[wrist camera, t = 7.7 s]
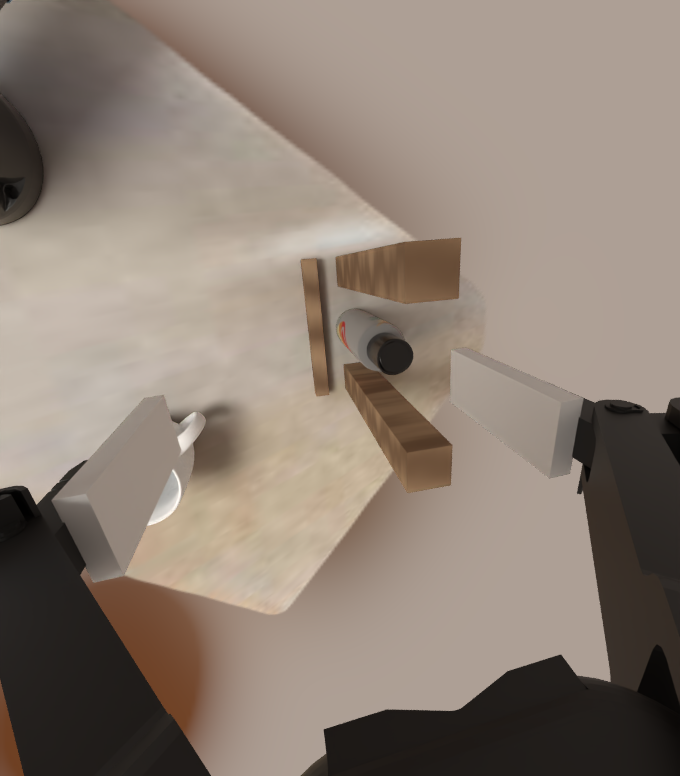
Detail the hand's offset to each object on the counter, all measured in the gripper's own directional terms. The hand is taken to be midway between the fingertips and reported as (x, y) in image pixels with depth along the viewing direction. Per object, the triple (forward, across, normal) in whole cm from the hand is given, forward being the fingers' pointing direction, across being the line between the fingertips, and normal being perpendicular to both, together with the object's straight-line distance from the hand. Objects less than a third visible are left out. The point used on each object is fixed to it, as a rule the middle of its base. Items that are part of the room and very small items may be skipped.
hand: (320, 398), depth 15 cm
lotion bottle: (+37, +10, -5) cm, 38 cm away
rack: (+37, +7, -4) cm, 38 cm away
